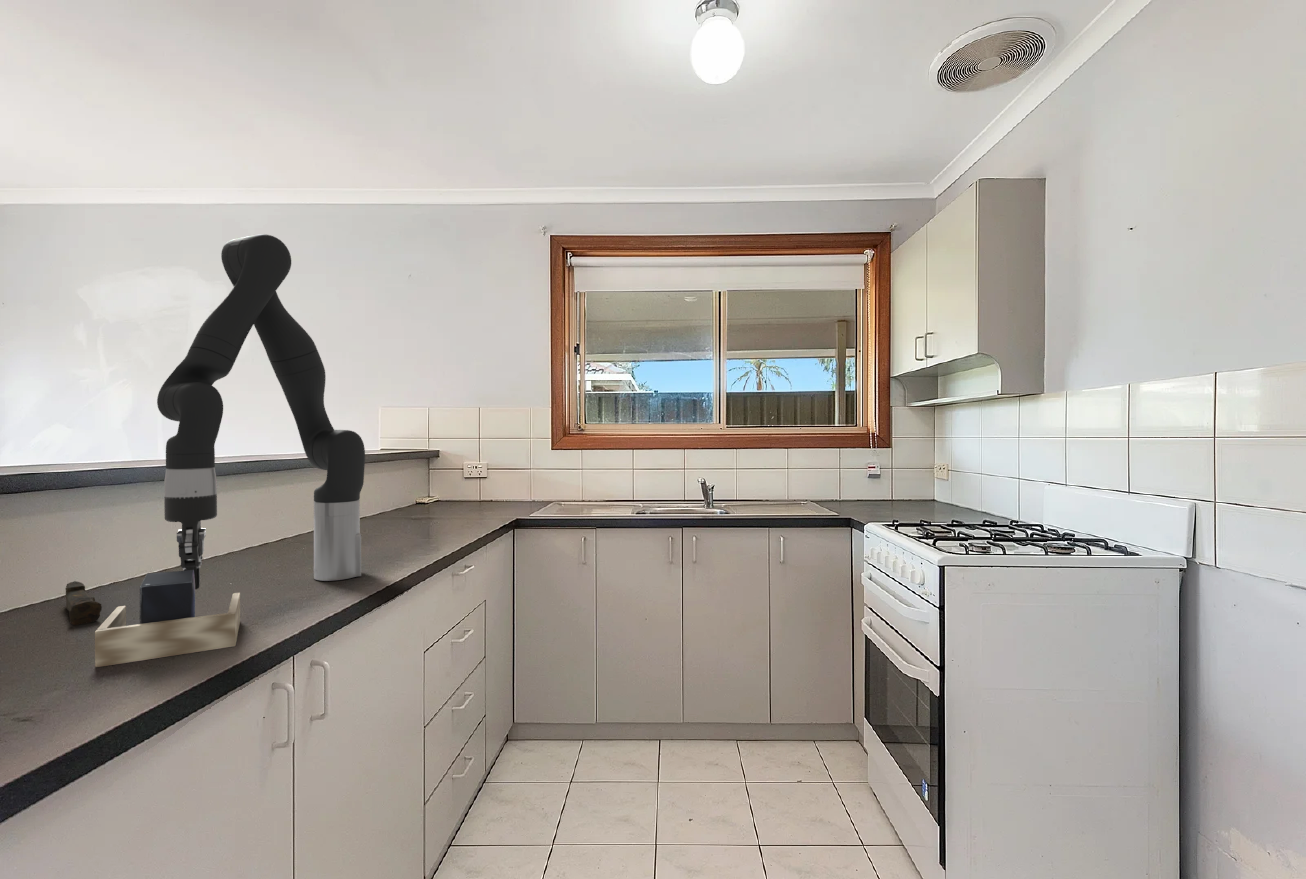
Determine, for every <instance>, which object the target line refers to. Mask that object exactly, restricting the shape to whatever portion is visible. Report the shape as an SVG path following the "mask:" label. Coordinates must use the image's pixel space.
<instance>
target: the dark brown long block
mask: <svg viewBox="0 0 1306 879" xmlns="http://www.w3.org/2000/svg"><path fill="white" fill-rule="evenodd" d="M65 600H66V601H65V605H66V606H65V607H66V608H65V609H67V611H68V614H69V615H68V618H69V620H68V622H69V623H70V624H72V625H73V626H78V625H79V626H80V625H84V624H85V625H86V624H91V623H94V622H97V621H98V620H99V618H100V617H101V612H102V608H103V606H102V604H101V603H100V602H98V601H96V599H95V597H93V596H90V595H89V594H88V592H86V586H85V585H84V583H82V582H80V581H76V580H74V581H71V582H68V583H67V584H66V586H65Z"/></svg>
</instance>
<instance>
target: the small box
mask: <svg viewBox="0 0 1306 879" xmlns="http://www.w3.org/2000/svg"><path fill="white" fill-rule="evenodd" d="M192 617H196V589H195V578H194V570H186V571H184V570H177V571H176V570H175V571H173V570H172V571H162V572H160V571H159V572H150V573H149V572H148V573H146V575H145V576H144V578H143V580H142V582H141V584H140V586H139V624H144V623H152V622H160V621H168V620H176V619H184V618H192Z"/></svg>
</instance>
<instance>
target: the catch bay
mask: <svg viewBox="0 0 1306 879" xmlns="http://www.w3.org/2000/svg"><path fill="white" fill-rule="evenodd" d="M240 624H241V592H234V593H232V596H231V600H230V604H229V606H228V611H227V612H223V613H217V614H216V613H215V614H208V615H201V616H195V617H192V618H184V619H176V620H168V621H160V622H152V623H144V624H140V623H139V624H130V625H127V605H121V606H117V607H116V608H115V609H114V610H113V611H112V612H110V614H109V615H108V617H107V618H106V619H105V620H104V621H103V622H102V623H101V624H100V626H99V627H97V629H96V630H95V631H94V654H95V655H94V660H95V662H94V664H95V665H94V666H95V668H101V667H107V666H112V665H120V664H126V663H127V664H128V663H132V662H133V663H134V662H140V661H146V660H151V659H154V660H155V659H158V658H165V657H173V656H179V655H185V654H193V653H198V652H205V651H212V650H219V649H225V648H231V647H236V644H237V640H238V634H239V630H240Z"/></svg>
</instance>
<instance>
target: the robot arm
mask: <svg viewBox="0 0 1306 879" xmlns="http://www.w3.org/2000/svg"><path fill="white" fill-rule="evenodd" d="M220 254H221V262H222V266H223V268H224V271H225V273H226V275H227V278H228V279H229V280H230V282H231V284H232V287H233V288H232V289H231V290H230V292H229V293H228V294H227V295H226V297H225V298H224V300H222V301H221V302H220V304H219V305H218V306H217V307H216V308H215V309H214V310H213V311H212V312H211V314H209V316H208V317H207V318H206V319H205V321H204V322H203V323H202V324H201V326H200V327H199V330H198V331H197V333H196V335H195V337H194V339H193V341H192V342H191V345H190V347H189V349H188V351H187V354H186V356H185V357H184V358H183V360H181V361H180V363H179V364H178V365H177V366H176V368H174V370H173V371H172V372H171V373H170V374H169V376H168V377H167V378H166V380H165V381H164V382H163V384H162V385H161V387H160V388H159V391H158V394H157V399H156V404H157V405H156V406H157V409H158V411H159V413H160V414H161V415H162V416H163V417H164V418H166V419H168V420H170V421H174V422H178V427H177V428H178V429H177V433H175V435H174V436H171V437H169V438H168V440H167V441H166V444H165V476H164V481H163V482H164V484H163V486H164V487H163V488H164V489H163V490H164V491H163V493H164V496H163V497H164V500H163V501H164V503H163V504H164V509H163V510H164V520H165V521H166V522H168V523H169V522H170V523H181V529H178V531H176V542H177V543H178V557H179V558H180V567H181V569H182V571H186V570H194V578H195V590H198V589H200V586H201V567H202V565H203V562H202V560H203V554H204V552H205V537H206V536H207V529H206V527H204V528H203V527H202V526H201V525H202V524H201V523H202V522H201V521H209V520H212V519H215V518H216V517H217V516H218V487H217V486H218V485H217V483H218V482H217V474H216V468H215V467H216V466H215V465H216V464H215V463H216V462H215V461H216V460H215V459H216V457H215V455H216V452H215V450H216V449H215V444H216V441H217V438H218V435H219V432H220V428H221V427H220V426H221V423H222V420H223V414H224V403H223V402H224V401H223V398H222V395H221V394H220V392H219V390H218V389H217V388H216V387H215V386H214V383H215V382H216V381H218V380H219V381H220V380H221V379H224V378H225V377H227V376H228V375H229V374H230V373H231V370H232V369H233V366H234V365H235V362H236V360H237V359H238V355H239V354H240V351H241V349H242V346H243V345H244V343H245V341H246V339H247V336H248V335H249V334H250V332H251V330H252V328H253V327H254V328H255V330H256V332H257V335H258V336H259V339H260V341H261V344H262V345H263V346H262V347H263V348H264V350H265V353H266V356H267V359H268V361H269V363H270V365H271V368H272V369H273V372H274V375H275V376H276V378H277V381H278V383H279V385H280V387H281V389H282V391H283V395H284V396H285V399H286V401H287V404H288V406H289V408H290V411H291V413H292V416H293V418H294V420H295V425H296V427H297V430H298V434H299V438H300V440H301V441H300V442H301V443H302V448H303V451H304V453H305V456H306V458H307V460H308V461H309V462H310V464H311V465H312V466H314V467H315V468H317V469H319V470H323V471H326V479H325V482H324V483H322V484H321V485H320V486H318V487H316V488H315V489H314V491H313V578H314V580H315V581H316V580H317V581H321V582H322V581H324V582H328V581H329V582H330V581H342V580H348V579H351V578H355V577H356V578H357V577H362V534H361V533H360V532H361V529H360V528H361V525H360V524H361V520H360V519H361V517H360V516H361V513H360V512H361V508H360V507H361V504H360V501H361V499H360V498H361V495H360V494H361V491H362V489H363V485H364V482H365V466H366V465H365V462H366V449H365V444H364V441H363V439H362V437H361V436H360V434H358V433H357V432H355V431H353V430H350V429H335V428H334V427H333V425H332V423H331V421H330V419H329V416H328V414H327V411H326V407H325V390H326V389H325V388H326V369H325V366H324V362H323V361H322V358H321V356H320V352H319V350H318V348H317V345H316V344H315V341H314V340H313V338H312V337H311V335H310V334H309V333H308V332H307V331H306V330H305V329H304V328H303V327H302V326H301V325H300V323H299V322H297V320H296V319H295V318H294V317H293V316H292V315H291V314H290V313H289V312H288V310H287V309H286V308H285V307H284V305H283V303H282V301H281V299H280V297H279V295H278V292H277V290H278V289H279V287H281V285H282V283H283V282H284V280H285V279H286V277H287V276H288V275H289V272H290V270H291V267H292V256H291V253H290V250H289V249H288V246H286V244H285V243H284V242H283V241H282V240H281V239H279V238H277V237H276V236H274V235H270V234H265V233H264V234H253V235H248V236H242V237H237V238H234V239H230V240H228V241H226V242H225V244H224V245H223V246H222V250H221V253H220Z"/></svg>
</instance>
